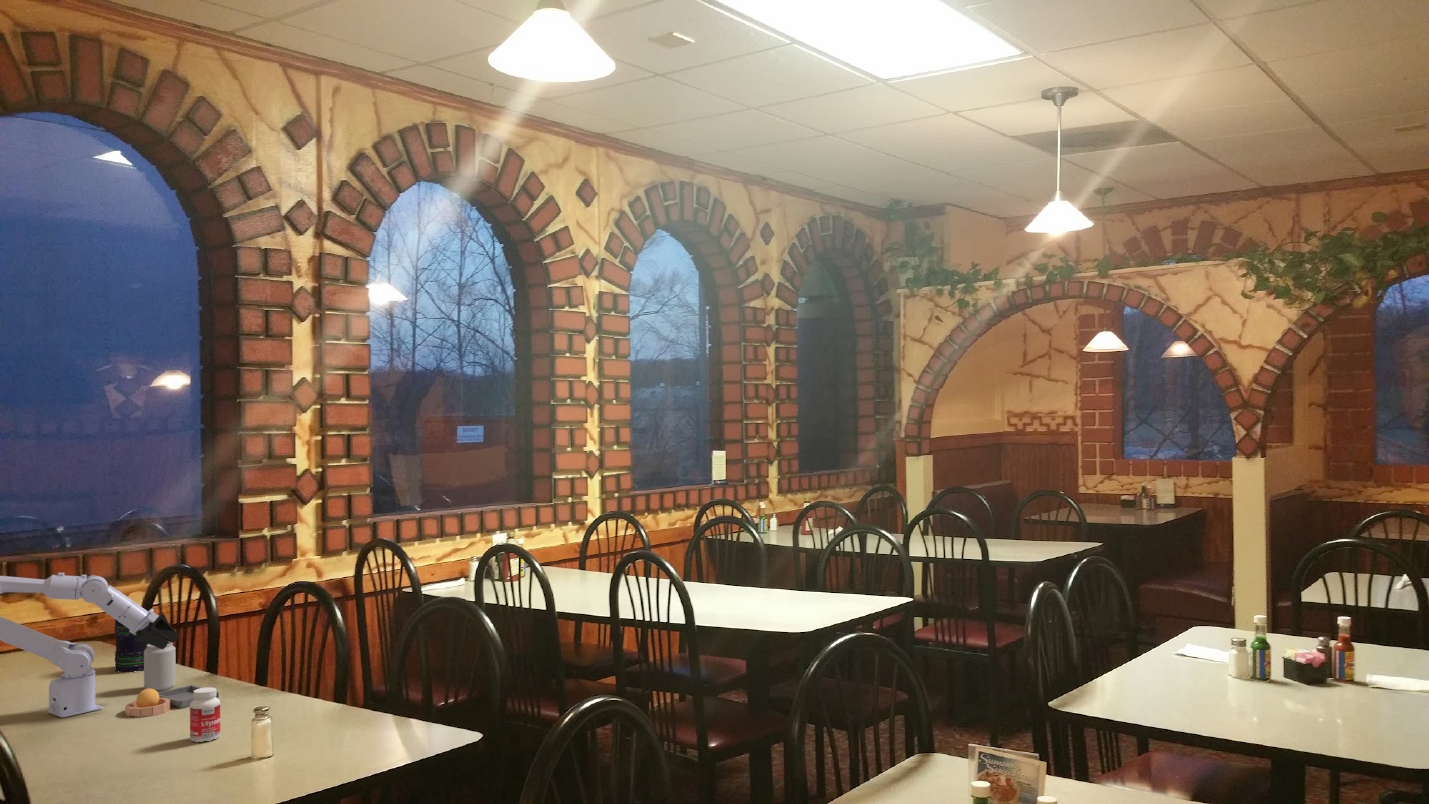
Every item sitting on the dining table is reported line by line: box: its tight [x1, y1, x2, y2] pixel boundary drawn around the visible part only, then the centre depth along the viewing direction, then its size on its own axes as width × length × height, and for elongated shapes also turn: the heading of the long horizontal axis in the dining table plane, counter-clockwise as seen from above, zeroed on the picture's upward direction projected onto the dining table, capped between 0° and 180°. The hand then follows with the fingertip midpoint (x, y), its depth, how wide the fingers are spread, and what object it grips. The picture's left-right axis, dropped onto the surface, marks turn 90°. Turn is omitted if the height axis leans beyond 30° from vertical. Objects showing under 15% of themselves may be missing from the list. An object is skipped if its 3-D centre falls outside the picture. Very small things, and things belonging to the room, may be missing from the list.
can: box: [143, 641, 177, 692], centre depth 285 cm, size 8×8×12 cm
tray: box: [157, 684, 220, 710], centre depth 273 cm, size 10×13×2 cm
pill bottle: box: [189, 686, 221, 743], centre depth 241 cm, size 6×6×11 cm
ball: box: [135, 688, 159, 708], centre depth 263 cm, size 5×5×5 cm
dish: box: [124, 698, 171, 718], centre depth 263 cm, size 10×10×2 cm
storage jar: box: [114, 619, 148, 673], centre depth 306 cm, size 10×10×15 cm
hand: (171, 642), depth 273 cm, fingers open, 7 cm apart
